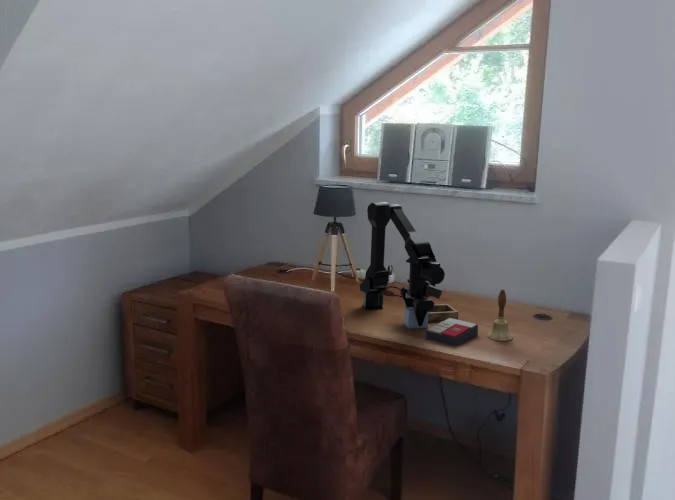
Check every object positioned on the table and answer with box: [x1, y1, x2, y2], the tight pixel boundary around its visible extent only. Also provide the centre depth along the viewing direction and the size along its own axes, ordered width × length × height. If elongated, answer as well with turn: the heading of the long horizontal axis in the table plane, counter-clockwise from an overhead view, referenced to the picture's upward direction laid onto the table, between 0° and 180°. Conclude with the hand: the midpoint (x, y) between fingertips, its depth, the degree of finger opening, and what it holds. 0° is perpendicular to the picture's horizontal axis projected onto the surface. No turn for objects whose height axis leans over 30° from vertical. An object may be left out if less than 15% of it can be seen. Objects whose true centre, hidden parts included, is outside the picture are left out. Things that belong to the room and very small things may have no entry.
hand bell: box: [486, 289, 514, 342], centre depth 216 cm, size 8×8×16 cm
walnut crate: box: [428, 303, 459, 323], centre depth 238 cm, size 12×10×3 cm
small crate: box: [403, 306, 429, 330], centre depth 227 cm, size 7×5×6 cm
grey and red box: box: [425, 318, 479, 347], centre depth 217 cm, size 11×4×15 cm
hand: (415, 321), depth 227 cm, fingers open, 9 cm apart
